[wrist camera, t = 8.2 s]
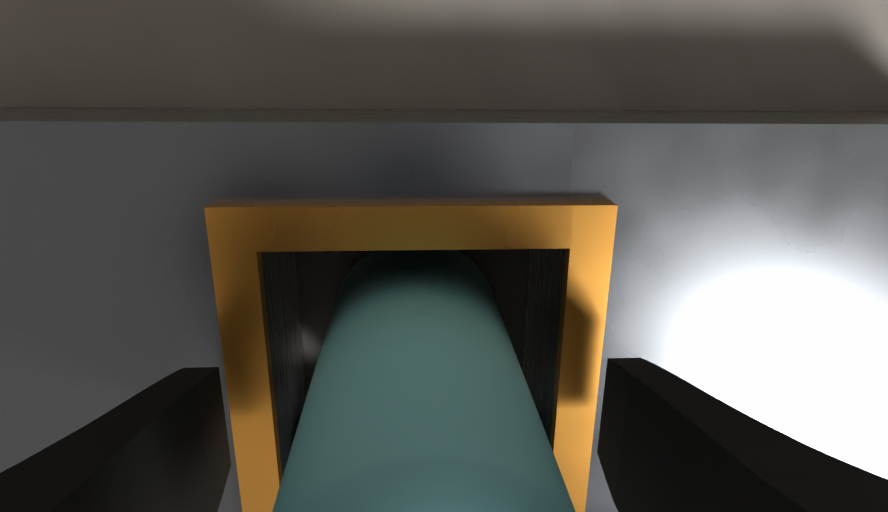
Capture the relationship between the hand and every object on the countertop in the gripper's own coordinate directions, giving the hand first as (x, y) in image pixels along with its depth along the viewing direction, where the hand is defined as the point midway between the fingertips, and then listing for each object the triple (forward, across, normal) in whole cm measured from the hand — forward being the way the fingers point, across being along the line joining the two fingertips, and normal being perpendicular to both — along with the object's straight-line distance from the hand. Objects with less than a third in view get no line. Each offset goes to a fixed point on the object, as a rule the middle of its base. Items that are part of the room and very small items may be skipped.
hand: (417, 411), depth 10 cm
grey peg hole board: (+4, 0, 0) cm, 4 cm away
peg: (+4, 0, 0) cm, 4 cm away
